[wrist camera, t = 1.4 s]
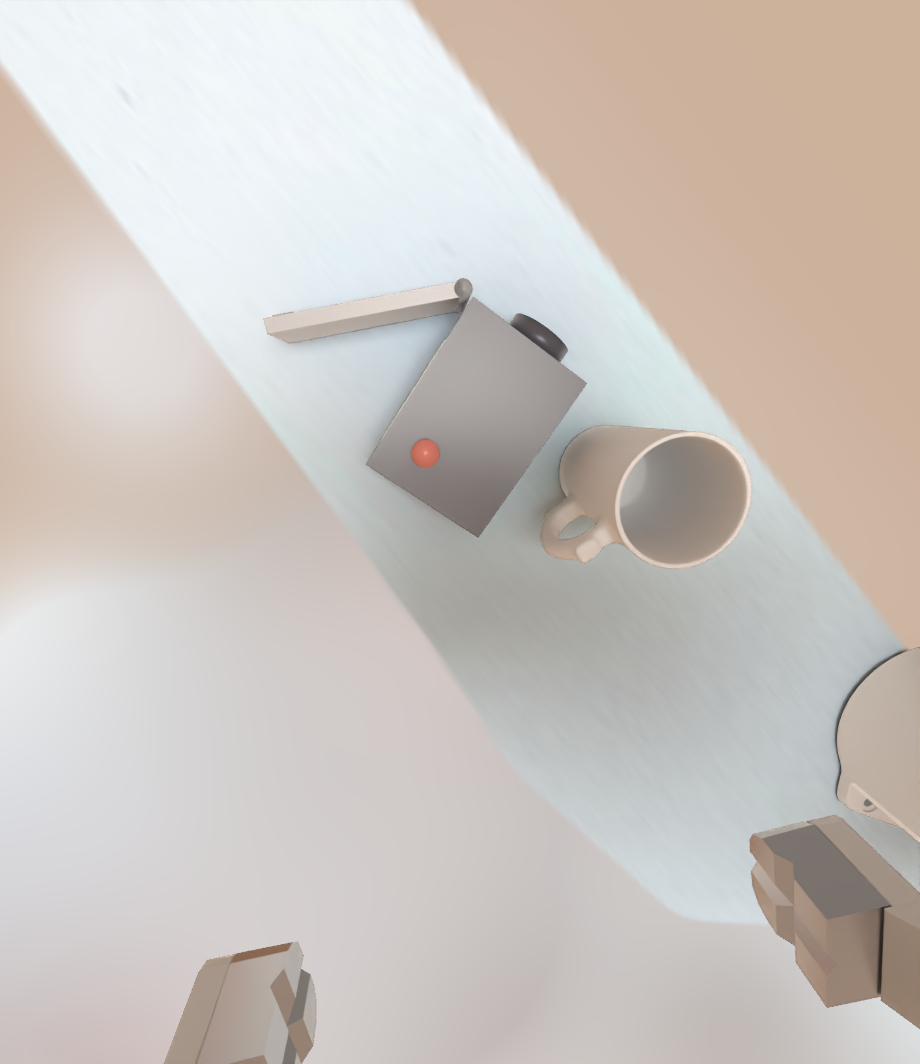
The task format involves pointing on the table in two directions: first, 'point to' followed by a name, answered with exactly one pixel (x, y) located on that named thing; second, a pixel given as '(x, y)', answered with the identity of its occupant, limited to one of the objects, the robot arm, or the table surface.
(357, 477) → the table surface
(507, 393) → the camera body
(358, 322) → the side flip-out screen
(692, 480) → the mug
